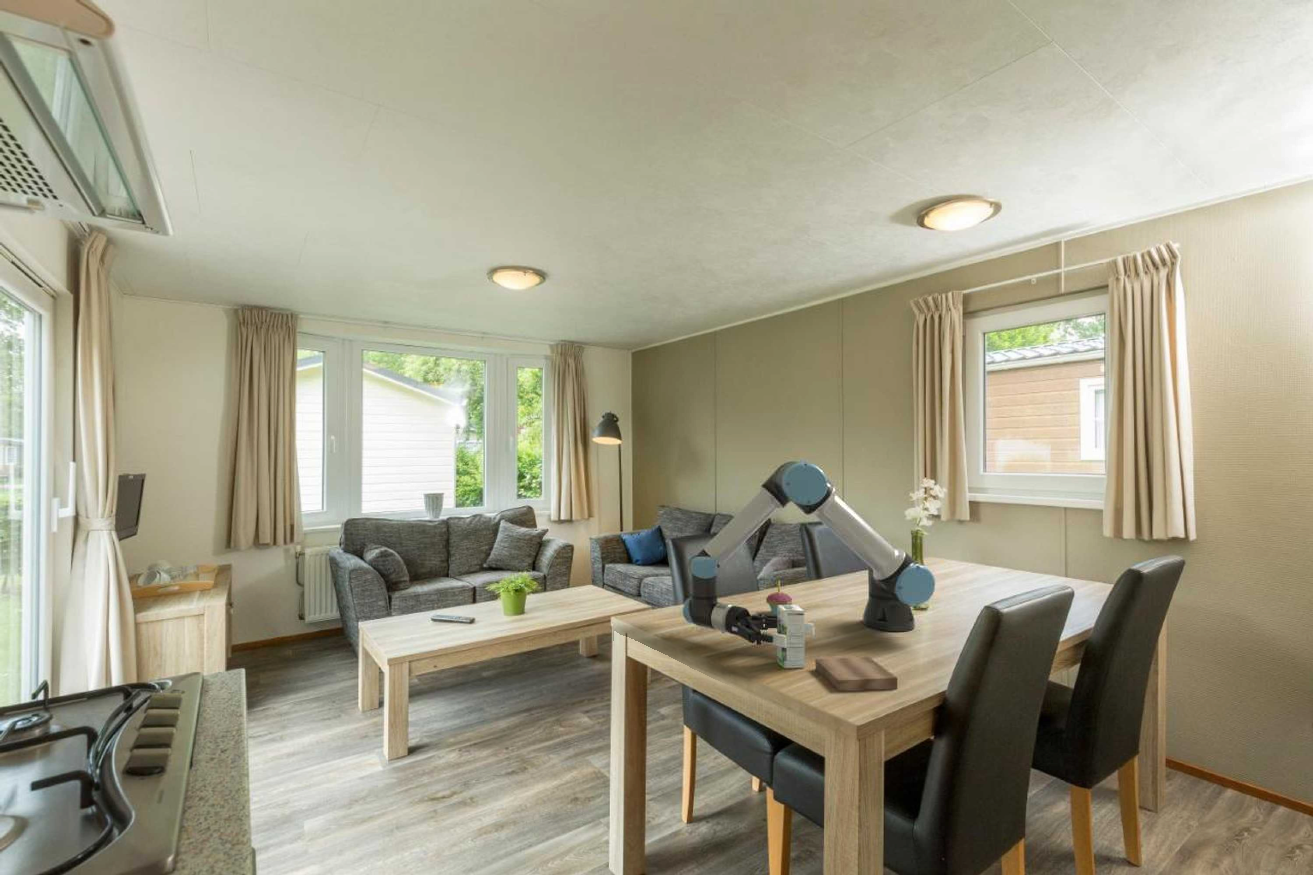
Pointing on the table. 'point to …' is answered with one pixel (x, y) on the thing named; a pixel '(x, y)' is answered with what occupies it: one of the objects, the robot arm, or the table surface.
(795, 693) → the table surface
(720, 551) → the robot arm
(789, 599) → the cupcake
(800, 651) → the syrup box
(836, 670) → the walnut board
